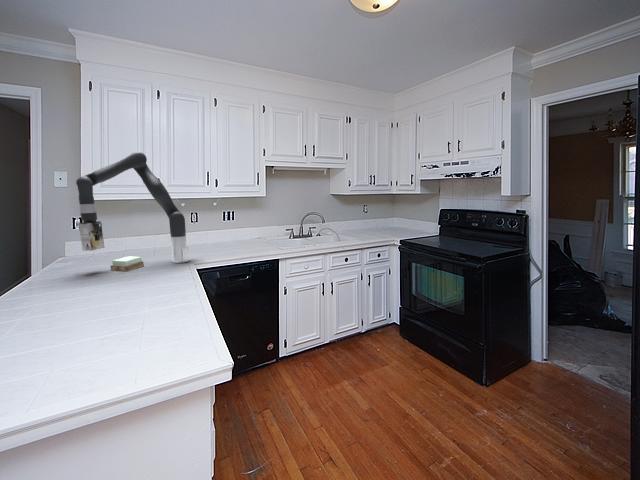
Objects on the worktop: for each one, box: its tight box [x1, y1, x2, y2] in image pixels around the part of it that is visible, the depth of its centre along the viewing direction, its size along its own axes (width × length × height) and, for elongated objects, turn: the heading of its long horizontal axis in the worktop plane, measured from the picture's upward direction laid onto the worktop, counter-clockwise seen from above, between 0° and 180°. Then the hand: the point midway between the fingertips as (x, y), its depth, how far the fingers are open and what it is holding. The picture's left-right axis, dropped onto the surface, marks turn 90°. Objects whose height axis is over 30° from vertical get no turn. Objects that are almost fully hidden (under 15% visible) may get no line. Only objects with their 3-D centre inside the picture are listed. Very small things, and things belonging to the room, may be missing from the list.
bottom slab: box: [110, 261, 145, 272], centre depth 199 cm, size 12×13×4 cm
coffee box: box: [77, 220, 105, 252], centre depth 186 cm, size 9×6×16 cm
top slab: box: [111, 255, 143, 266], centre depth 198 cm, size 10×12×3 cm
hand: (92, 240), depth 187 cm, fingers closed on coffee box, 6 cm apart
